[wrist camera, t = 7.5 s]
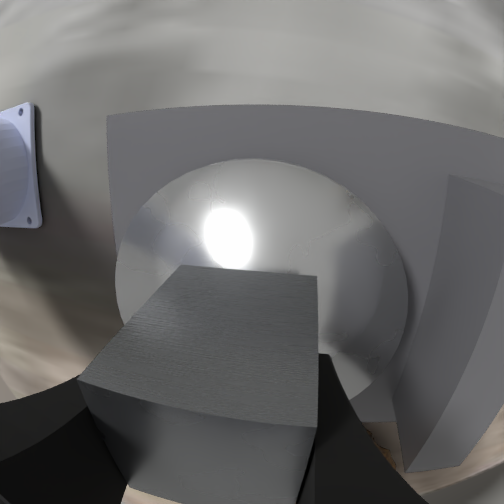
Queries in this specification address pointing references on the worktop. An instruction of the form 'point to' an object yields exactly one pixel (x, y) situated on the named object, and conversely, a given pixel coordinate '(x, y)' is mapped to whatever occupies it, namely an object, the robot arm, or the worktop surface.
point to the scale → (396, 224)
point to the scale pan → (277, 251)
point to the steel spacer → (212, 387)
